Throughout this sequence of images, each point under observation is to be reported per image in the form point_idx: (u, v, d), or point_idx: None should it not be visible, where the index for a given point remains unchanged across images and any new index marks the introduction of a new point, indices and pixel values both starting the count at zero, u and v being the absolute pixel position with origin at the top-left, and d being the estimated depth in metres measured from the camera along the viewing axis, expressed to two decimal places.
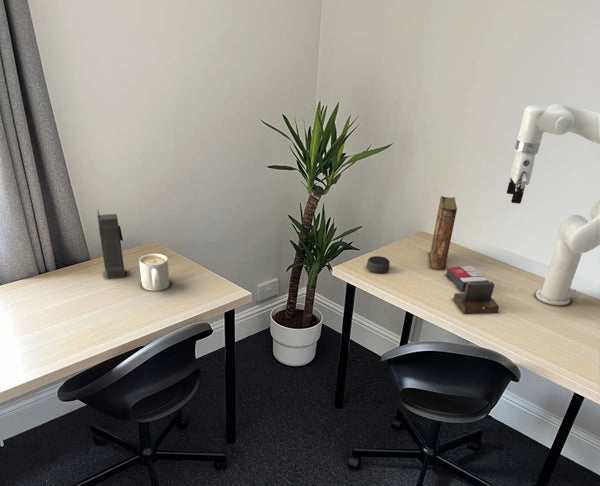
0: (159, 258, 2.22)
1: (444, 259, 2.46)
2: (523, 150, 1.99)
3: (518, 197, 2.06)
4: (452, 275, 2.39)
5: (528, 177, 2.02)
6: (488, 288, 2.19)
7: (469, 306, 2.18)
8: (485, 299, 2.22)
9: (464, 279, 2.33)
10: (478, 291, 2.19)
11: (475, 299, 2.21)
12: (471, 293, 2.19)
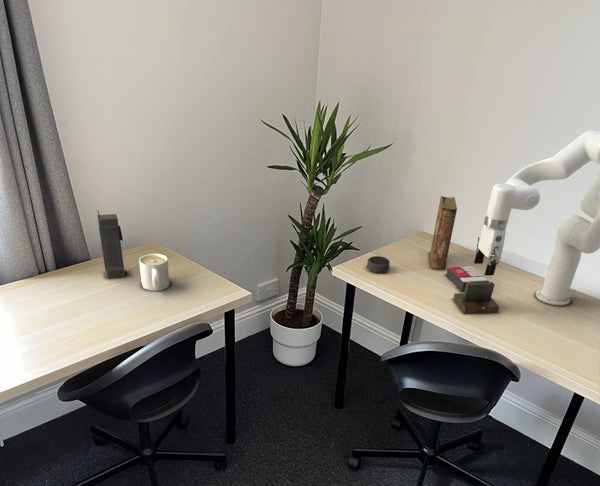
0: (159, 258, 2.22)
1: (444, 259, 2.46)
2: (494, 227, 2.03)
3: (492, 270, 2.10)
4: (452, 275, 2.39)
5: (500, 251, 2.06)
6: (488, 288, 2.19)
7: (469, 306, 2.18)
8: (485, 299, 2.22)
9: (464, 279, 2.33)
10: (478, 291, 2.19)
11: (475, 299, 2.21)
12: (471, 293, 2.19)
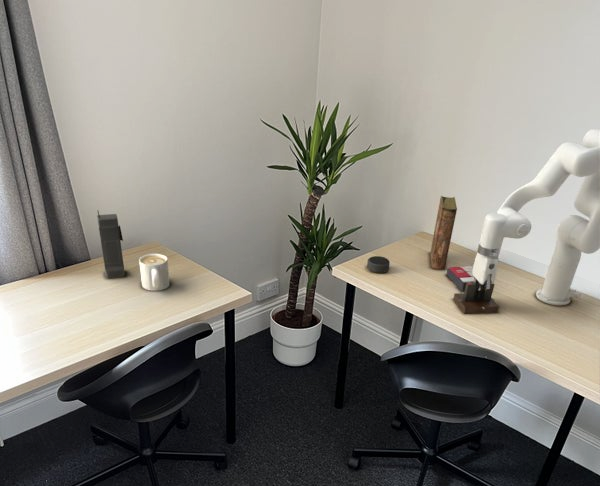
0: (159, 258, 2.22)
1: (444, 259, 2.46)
2: (487, 255, 2.08)
3: (481, 295, 2.19)
4: (452, 275, 2.39)
5: (493, 278, 2.12)
6: None
7: (469, 306, 2.18)
8: (485, 299, 2.22)
9: (464, 279, 2.33)
10: None
11: None
12: (471, 293, 2.19)
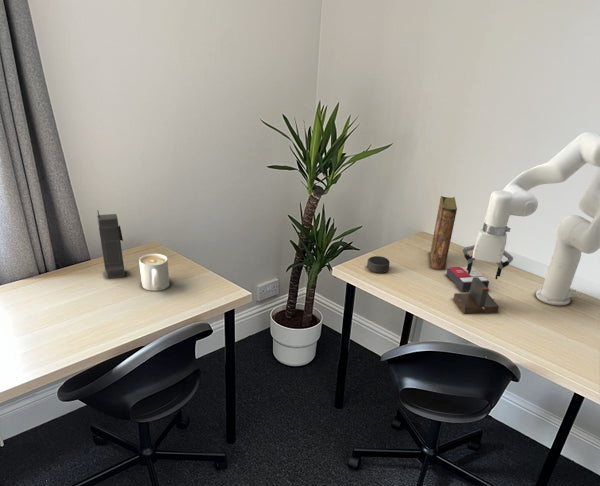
0: (159, 258, 2.22)
1: (444, 259, 2.46)
2: (503, 233, 2.05)
3: (500, 272, 2.14)
4: (452, 275, 2.39)
5: None
6: None
7: (469, 306, 2.18)
8: None
9: (464, 279, 2.33)
10: None
11: None
12: None
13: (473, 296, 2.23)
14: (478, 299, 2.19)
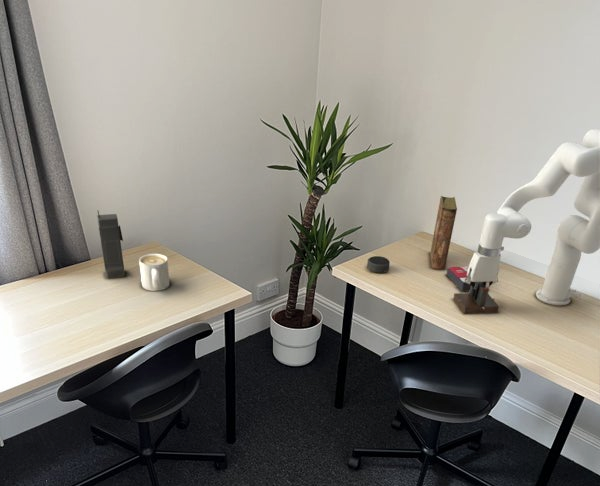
0: (159, 258, 2.22)
1: (444, 259, 2.46)
2: (499, 253, 2.10)
3: None
4: (452, 275, 2.39)
5: None
6: None
7: (469, 306, 2.18)
8: None
9: (464, 279, 2.33)
10: None
11: None
12: None
13: None
14: (478, 299, 2.19)
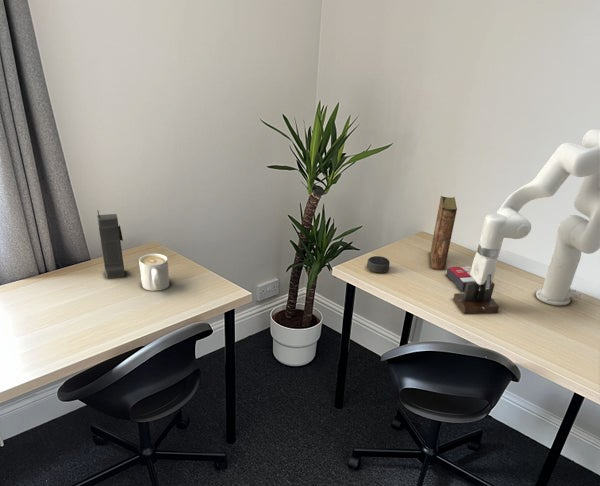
0: (159, 258, 2.22)
1: (444, 259, 2.46)
2: None
3: None
4: (452, 275, 2.39)
5: None
6: None
7: (469, 306, 2.18)
8: None
9: (464, 279, 2.33)
10: None
11: None
12: None
13: None
14: (486, 296, 2.21)
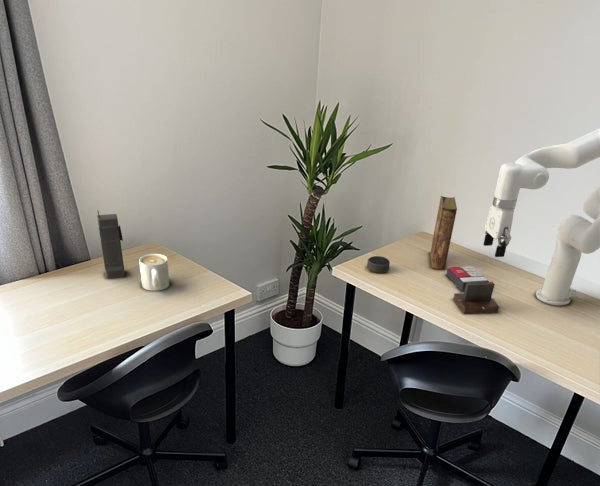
0: (159, 258, 2.22)
1: (444, 259, 2.46)
2: None
3: None
4: (452, 275, 2.39)
5: None
6: None
7: (469, 306, 2.18)
8: None
9: (464, 279, 2.33)
10: None
11: None
12: None
13: (475, 299, 2.21)
14: (486, 296, 2.21)
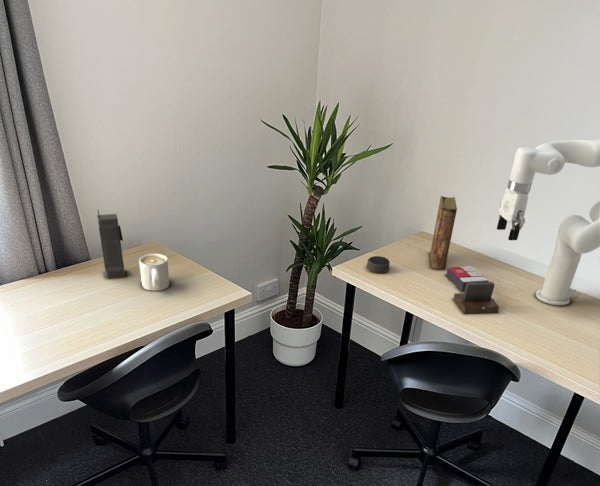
0: (159, 258, 2.22)
1: (444, 259, 2.46)
2: None
3: None
4: (452, 275, 2.39)
5: None
6: None
7: (469, 306, 2.18)
8: None
9: (464, 279, 2.33)
10: None
11: None
12: None
13: (475, 299, 2.21)
14: (486, 296, 2.21)
